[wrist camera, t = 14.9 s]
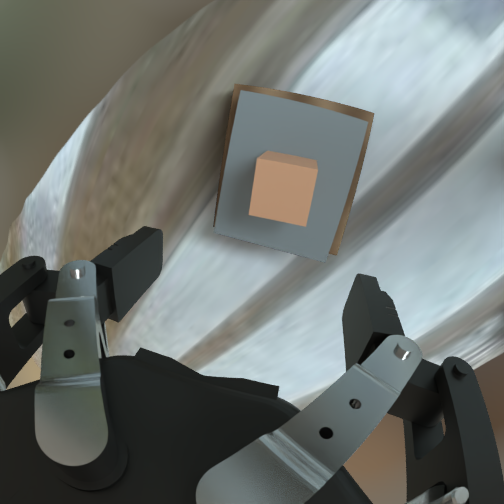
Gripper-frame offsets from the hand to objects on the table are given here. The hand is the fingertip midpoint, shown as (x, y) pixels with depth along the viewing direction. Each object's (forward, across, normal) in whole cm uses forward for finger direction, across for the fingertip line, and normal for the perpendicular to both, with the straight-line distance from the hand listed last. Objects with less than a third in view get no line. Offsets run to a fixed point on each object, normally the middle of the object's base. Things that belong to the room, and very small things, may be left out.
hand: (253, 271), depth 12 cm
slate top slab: (+24, 0, 0) cm, 24 cm away
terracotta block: (+20, 0, 0) cm, 20 cm away
